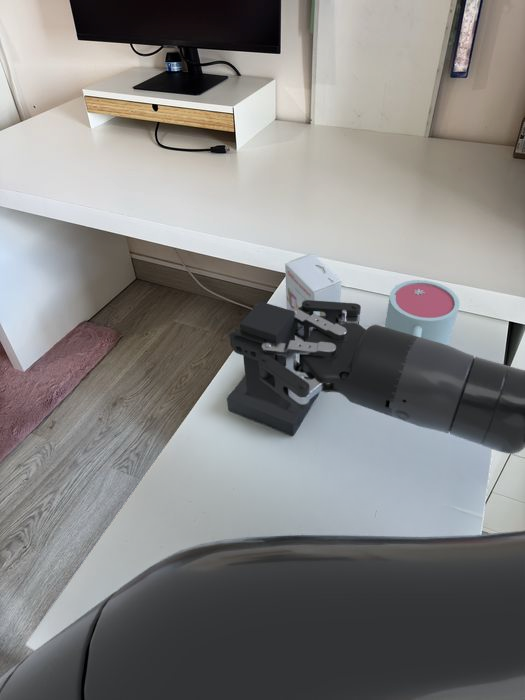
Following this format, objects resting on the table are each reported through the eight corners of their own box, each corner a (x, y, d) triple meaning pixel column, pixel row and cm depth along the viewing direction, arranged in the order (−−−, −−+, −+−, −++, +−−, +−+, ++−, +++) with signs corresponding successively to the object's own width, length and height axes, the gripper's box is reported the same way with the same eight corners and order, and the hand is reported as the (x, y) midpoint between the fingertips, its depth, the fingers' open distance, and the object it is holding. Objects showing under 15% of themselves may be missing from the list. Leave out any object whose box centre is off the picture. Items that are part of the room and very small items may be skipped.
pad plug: (279, 405, 54) (276, 335, 47) (246, 393, 55) (239, 323, 48) (295, 381, 56) (294, 311, 49) (264, 370, 58) (259, 300, 51)
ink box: (284, 322, 83) (283, 260, 75) (310, 312, 84) (312, 251, 76) (312, 353, 77) (313, 290, 69) (339, 342, 78) (344, 279, 70)
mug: (387, 327, 80) (395, 275, 74) (447, 339, 78) (462, 286, 71) (369, 387, 71) (377, 334, 64) (437, 403, 69) (453, 349, 62)
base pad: (293, 436, 66) (293, 424, 64) (228, 410, 69) (226, 398, 67) (323, 386, 72) (324, 373, 70) (262, 365, 75) (261, 352, 74)
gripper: (438, 300, 47) (274, 258, 53) (388, 405, 38) (199, 339, 44) (424, 358, 52) (276, 313, 58) (377, 462, 43) (209, 396, 50)
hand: (244, 325), depth 51 cm, fingers closed on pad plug, 4 cm apart
